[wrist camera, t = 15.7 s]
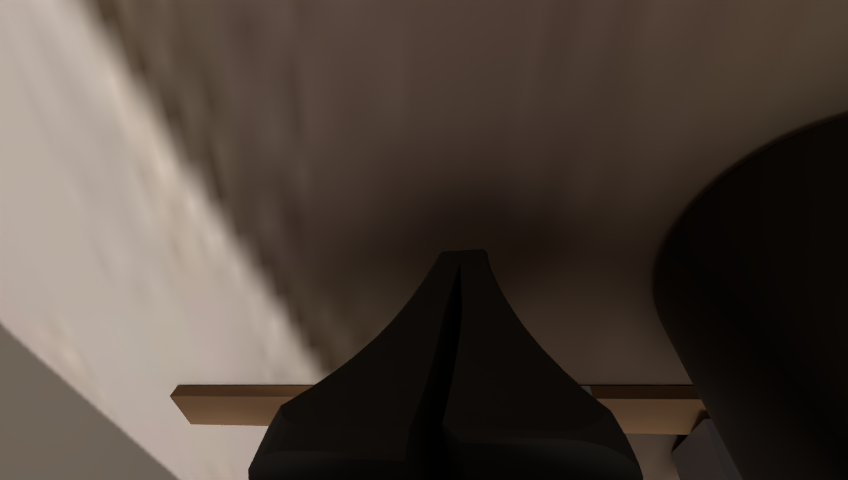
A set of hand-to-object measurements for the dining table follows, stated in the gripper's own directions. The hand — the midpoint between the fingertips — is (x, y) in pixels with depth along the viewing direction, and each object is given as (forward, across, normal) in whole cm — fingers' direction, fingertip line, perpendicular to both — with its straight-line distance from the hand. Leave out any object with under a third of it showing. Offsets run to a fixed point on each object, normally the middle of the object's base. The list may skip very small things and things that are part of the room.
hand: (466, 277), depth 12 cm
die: (+1, -10, +9) cm, 14 cm away
